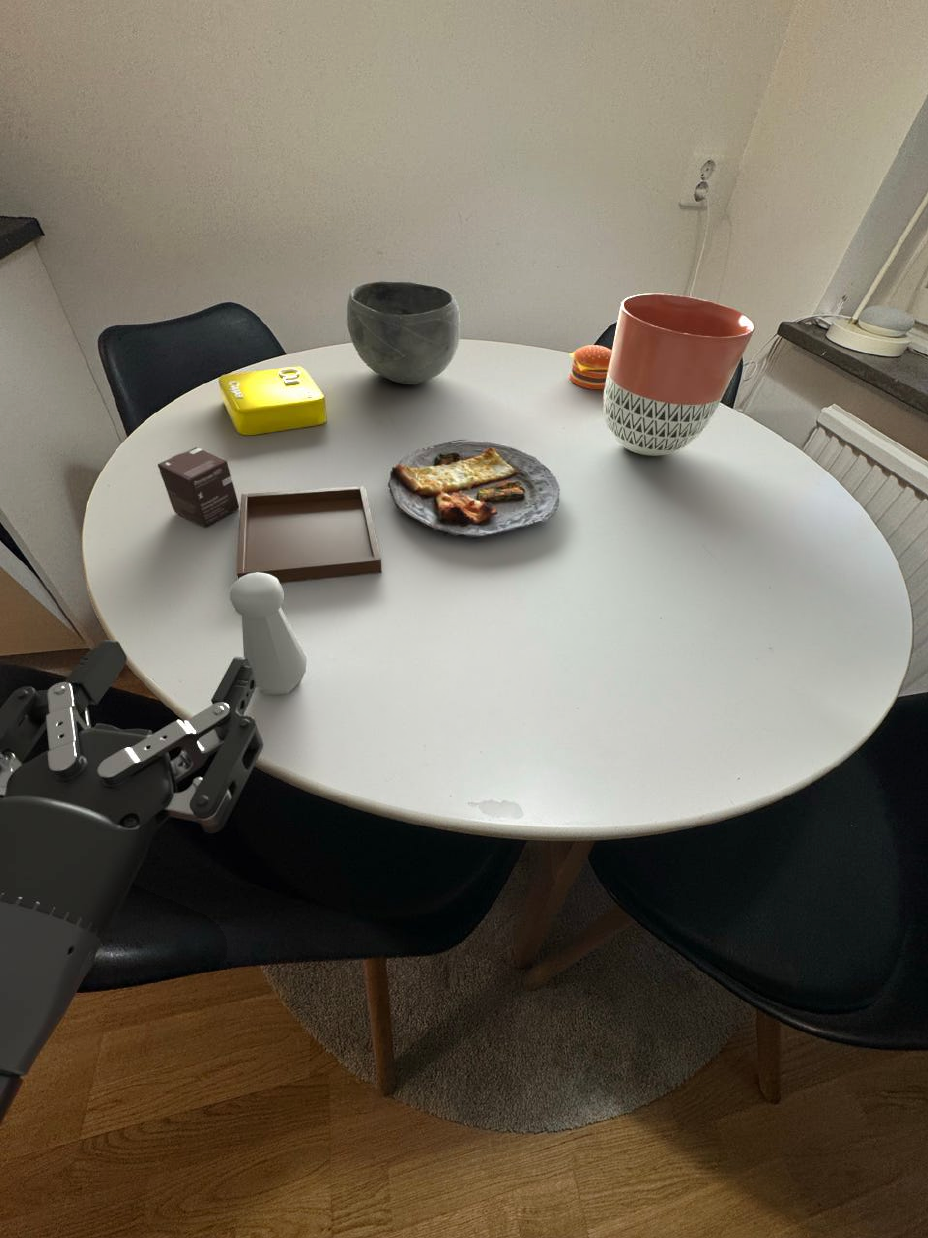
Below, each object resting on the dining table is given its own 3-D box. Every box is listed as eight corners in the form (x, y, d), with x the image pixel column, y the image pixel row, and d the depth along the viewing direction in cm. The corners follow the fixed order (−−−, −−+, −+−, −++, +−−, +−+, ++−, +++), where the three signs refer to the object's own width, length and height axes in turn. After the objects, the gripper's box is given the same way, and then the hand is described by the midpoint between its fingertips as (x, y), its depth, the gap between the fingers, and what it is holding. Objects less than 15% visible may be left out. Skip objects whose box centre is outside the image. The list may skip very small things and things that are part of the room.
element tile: (221, 399, 97) (215, 371, 93) (305, 388, 102) (302, 362, 99) (239, 438, 88) (232, 409, 85) (330, 424, 93) (327, 396, 90)
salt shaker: (321, 674, 56) (304, 580, 47) (280, 712, 52) (252, 618, 43) (280, 649, 58) (255, 553, 49) (237, 684, 54) (202, 588, 45)
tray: (240, 587, 64) (236, 573, 63) (244, 507, 75) (241, 493, 74) (381, 572, 68) (381, 559, 66) (365, 498, 79) (364, 485, 77)
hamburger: (619, 390, 113) (628, 356, 108) (575, 390, 111) (582, 356, 107) (604, 371, 119) (612, 339, 115) (562, 371, 118) (569, 338, 113)
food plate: (424, 560, 70) (425, 539, 67) (367, 469, 84) (366, 448, 82) (585, 522, 79) (591, 501, 76) (508, 445, 93) (511, 426, 90)
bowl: (346, 358, 114) (339, 275, 103) (444, 356, 119) (448, 277, 108) (356, 402, 100) (350, 312, 89) (468, 398, 105) (475, 312, 94)
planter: (623, 482, 87) (669, 340, 72) (569, 425, 100) (598, 294, 84) (722, 469, 93) (784, 334, 77) (659, 417, 105) (701, 292, 90)
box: (204, 529, 71) (188, 480, 66) (173, 513, 73) (155, 463, 68) (241, 508, 75) (228, 460, 70) (210, 493, 77) (196, 445, 72)
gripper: (134, 927, 21) (277, 630, 33) (-215, 878, 22) (47, 601, 33) (189, 973, 27) (296, 704, 38) (-92, 933, 27) (98, 678, 38)
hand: (180, 656), depth 36 cm, fingers open, 8 cm apart
